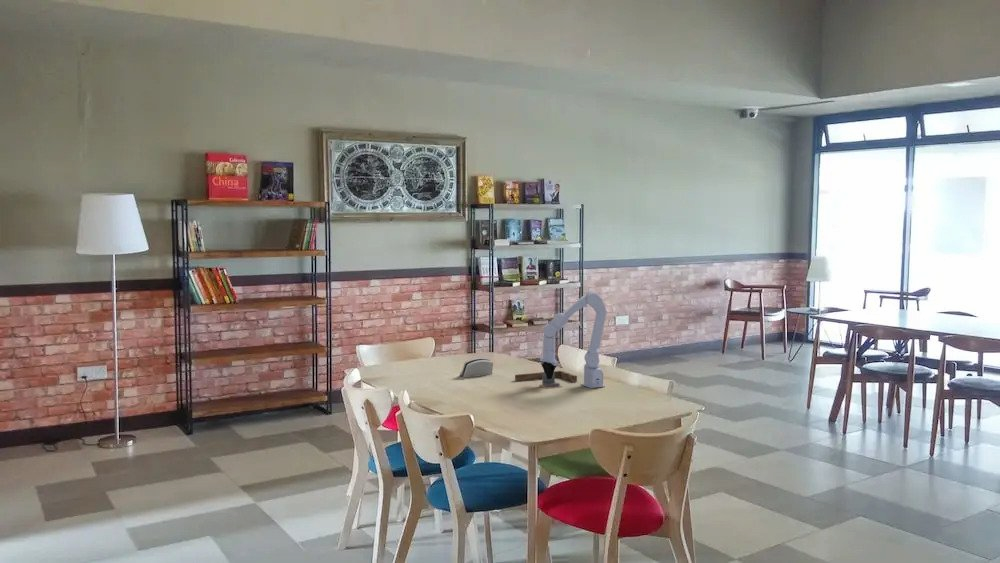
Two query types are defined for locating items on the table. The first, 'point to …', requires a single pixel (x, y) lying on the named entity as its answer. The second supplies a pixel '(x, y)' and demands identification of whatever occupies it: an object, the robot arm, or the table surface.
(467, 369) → the grey curved-top block
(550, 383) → the bracket
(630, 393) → the table surface
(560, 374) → the brown wooden l-shape
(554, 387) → the pad
